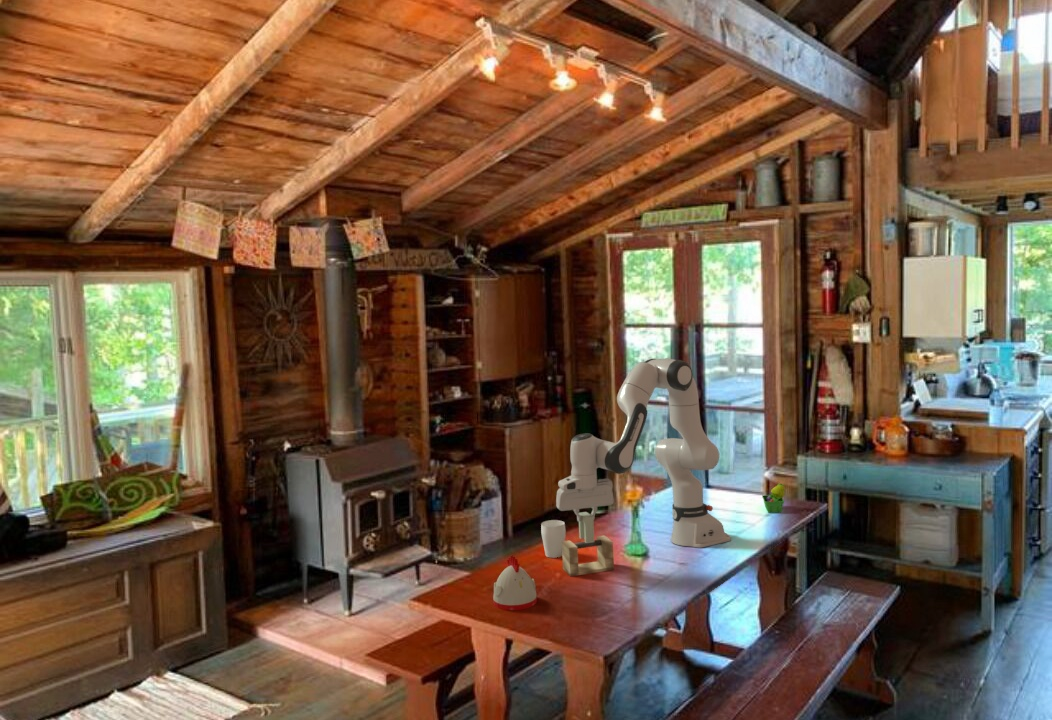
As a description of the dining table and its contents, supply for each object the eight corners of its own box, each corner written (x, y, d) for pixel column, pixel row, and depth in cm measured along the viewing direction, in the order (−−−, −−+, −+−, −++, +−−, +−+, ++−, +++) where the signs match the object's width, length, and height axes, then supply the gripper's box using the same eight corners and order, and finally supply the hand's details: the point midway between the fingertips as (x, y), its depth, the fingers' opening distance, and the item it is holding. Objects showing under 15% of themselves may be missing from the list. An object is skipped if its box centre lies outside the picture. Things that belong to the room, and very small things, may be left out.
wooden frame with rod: (605, 562, 305) (604, 535, 304) (614, 569, 297) (612, 541, 296) (563, 569, 300) (561, 541, 299) (570, 576, 293) (569, 547, 292)
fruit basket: (761, 506, 366) (761, 480, 365) (783, 506, 365) (782, 480, 364) (765, 513, 355) (764, 487, 354) (787, 513, 354) (787, 486, 353)
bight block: (587, 536, 301) (586, 511, 301) (594, 542, 295) (593, 516, 294) (579, 537, 300) (578, 512, 300) (586, 543, 294) (585, 517, 293)
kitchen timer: (503, 613, 263) (500, 566, 262) (487, 599, 276) (484, 554, 274) (544, 604, 268) (541, 558, 267) (526, 591, 281) (524, 546, 280)
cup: (564, 559, 311) (563, 527, 310) (540, 558, 313) (538, 526, 312) (568, 551, 320) (566, 520, 319) (544, 551, 321) (543, 519, 320)
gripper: (608, 475, 302) (610, 514, 303) (553, 482, 296) (555, 521, 297) (615, 479, 296) (617, 518, 297) (559, 486, 290) (561, 526, 291)
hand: (585, 520), depth 297 cm, fingers closed on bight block, 3 cm apart
